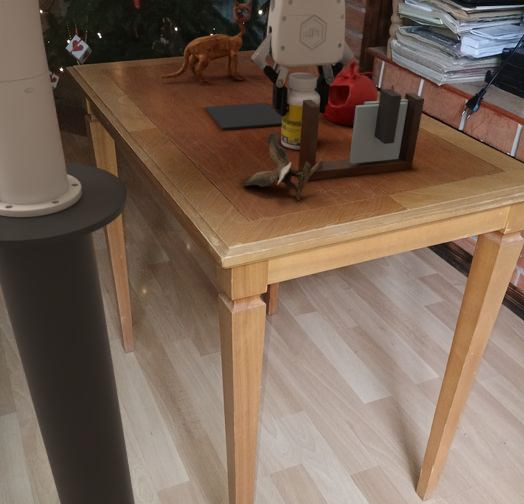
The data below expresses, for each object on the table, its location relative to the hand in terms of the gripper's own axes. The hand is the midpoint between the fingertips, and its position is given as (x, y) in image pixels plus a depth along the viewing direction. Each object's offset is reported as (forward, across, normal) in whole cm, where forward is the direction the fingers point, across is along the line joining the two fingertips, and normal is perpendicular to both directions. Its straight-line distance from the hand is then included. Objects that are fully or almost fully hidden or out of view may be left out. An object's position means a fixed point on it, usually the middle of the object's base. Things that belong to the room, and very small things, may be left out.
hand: (299, 110), depth 90 cm
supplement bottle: (+5, 0, 0) cm, 5 cm away
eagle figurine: (+5, -9, -15) cm, 18 cm away
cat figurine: (+5, -5, +37) cm, 38 cm away
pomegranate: (+5, +12, +9) cm, 16 cm away
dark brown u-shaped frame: (+5, +4, -12) cm, 14 cm away
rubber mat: (+5, -4, +14) cm, 15 cm away
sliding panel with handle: (+3, +6, -14) cm, 16 cm away
